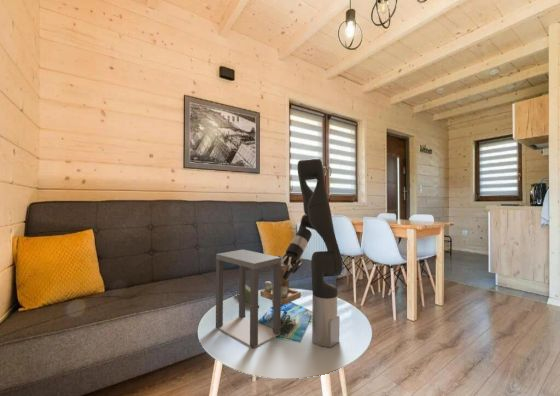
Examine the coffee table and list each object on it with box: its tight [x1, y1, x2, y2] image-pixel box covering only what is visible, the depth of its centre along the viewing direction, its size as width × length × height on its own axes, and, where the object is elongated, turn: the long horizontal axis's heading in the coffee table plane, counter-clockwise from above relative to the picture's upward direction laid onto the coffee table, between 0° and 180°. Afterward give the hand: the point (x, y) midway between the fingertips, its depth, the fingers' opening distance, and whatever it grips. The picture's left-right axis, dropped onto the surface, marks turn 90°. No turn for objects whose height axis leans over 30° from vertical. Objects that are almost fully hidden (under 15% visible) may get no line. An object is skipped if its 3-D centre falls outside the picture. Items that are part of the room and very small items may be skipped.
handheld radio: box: [237, 281, 260, 309], centre depth 142 cm, size 7×3×25 cm
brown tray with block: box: [259, 263, 302, 306], centre depth 124 cm, size 14×11×14 cm
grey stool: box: [215, 249, 282, 349], centre depth 110 cm, size 23×14×30 cm, turn 48°
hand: (280, 277), depth 124 cm, fingers closed on brown tray with block, 4 cm apart
